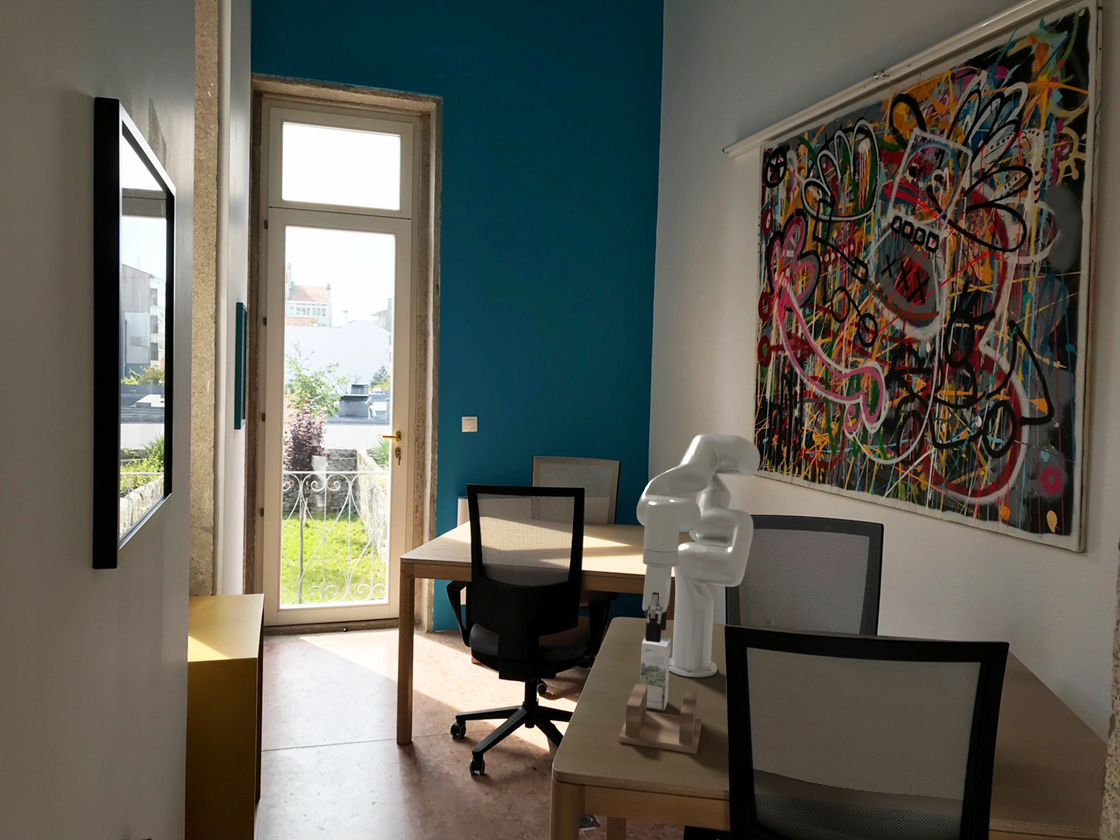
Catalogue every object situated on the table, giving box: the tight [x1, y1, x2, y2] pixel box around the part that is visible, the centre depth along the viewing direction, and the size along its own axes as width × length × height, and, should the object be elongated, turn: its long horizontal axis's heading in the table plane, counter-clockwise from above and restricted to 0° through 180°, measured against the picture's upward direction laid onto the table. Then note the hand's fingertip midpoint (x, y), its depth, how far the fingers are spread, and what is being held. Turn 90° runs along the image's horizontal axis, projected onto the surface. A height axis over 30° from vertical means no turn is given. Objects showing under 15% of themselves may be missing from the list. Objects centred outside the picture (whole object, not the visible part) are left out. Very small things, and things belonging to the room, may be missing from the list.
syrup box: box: [639, 637, 672, 712], centre depth 178 cm, size 6×6×14 cm
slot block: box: [618, 683, 703, 755], centre depth 163 cm, size 14×15×7 cm
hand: (655, 635), depth 177 cm, fingers open, 9 cm apart
